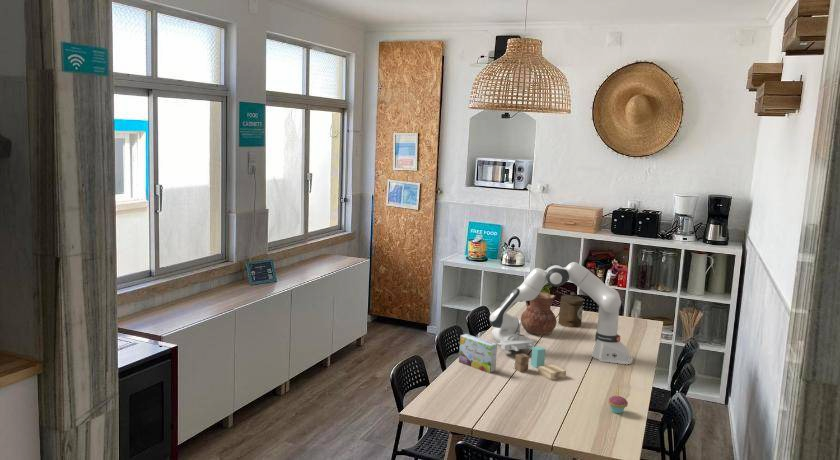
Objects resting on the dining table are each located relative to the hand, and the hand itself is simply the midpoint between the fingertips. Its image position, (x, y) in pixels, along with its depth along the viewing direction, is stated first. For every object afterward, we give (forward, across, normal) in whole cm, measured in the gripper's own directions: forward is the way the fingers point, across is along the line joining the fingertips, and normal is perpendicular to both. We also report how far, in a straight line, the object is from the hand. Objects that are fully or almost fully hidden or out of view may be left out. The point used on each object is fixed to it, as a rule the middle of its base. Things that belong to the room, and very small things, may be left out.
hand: (525, 348), depth 369 cm
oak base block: (+26, -1, +6) cm, 27 cm away
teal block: (+12, 0, +6) cm, 13 cm away
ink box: (-32, +13, +6) cm, 35 cm away
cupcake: (+74, 0, +6) cm, 74 cm away
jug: (-39, +37, +6) cm, 54 cm away
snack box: (+3, -33, +6) cm, 33 cm away
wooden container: (-48, +70, +6) cm, 85 cm away
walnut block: (+15, -12, +6) cm, 20 cm away
